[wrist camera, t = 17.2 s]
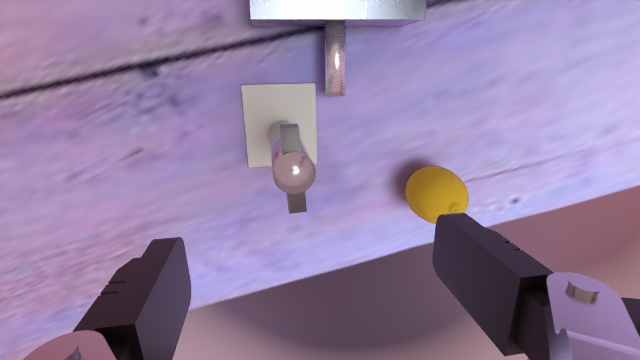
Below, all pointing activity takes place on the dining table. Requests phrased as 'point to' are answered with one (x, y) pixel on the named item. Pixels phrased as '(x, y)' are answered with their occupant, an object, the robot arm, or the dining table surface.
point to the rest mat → (278, 117)
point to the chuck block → (335, 24)
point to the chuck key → (291, 164)
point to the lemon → (435, 193)
